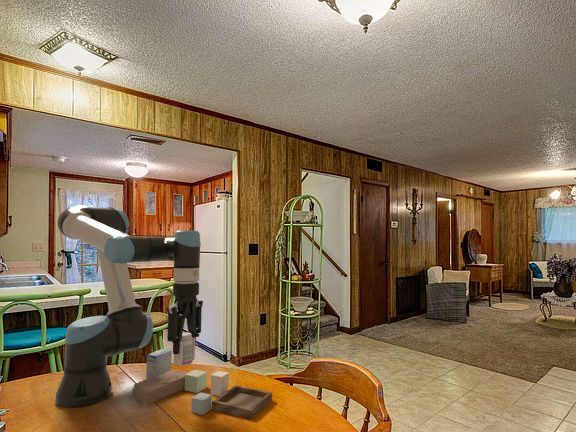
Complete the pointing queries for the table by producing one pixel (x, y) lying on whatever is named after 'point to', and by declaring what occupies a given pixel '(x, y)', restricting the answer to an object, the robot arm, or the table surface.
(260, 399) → the tray
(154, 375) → the medicine box
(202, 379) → the sage block
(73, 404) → the robot arm
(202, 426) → the table surface
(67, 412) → the table surface
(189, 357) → the pill bottle
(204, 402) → the blue-grey block
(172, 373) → the brick
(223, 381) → the cream block
